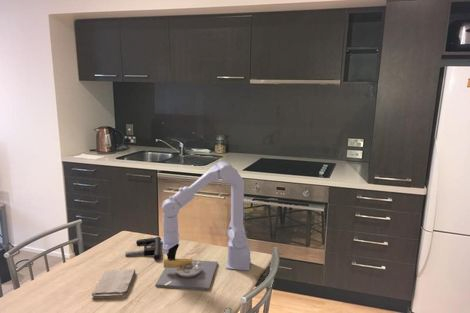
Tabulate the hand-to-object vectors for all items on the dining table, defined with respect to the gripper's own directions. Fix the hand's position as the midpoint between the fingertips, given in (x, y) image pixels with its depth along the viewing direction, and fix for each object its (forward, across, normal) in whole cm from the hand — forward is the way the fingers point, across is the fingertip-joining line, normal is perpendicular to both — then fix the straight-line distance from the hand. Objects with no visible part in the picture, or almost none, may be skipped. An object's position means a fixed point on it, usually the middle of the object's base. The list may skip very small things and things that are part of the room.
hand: (171, 262), depth 139 cm
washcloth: (+5, +12, -18) cm, 22 cm away
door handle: (+5, -16, -18) cm, 24 cm away
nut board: (+4, 0, +7) cm, 8 cm away
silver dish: (+3, +1, +5) cm, 6 cm away
